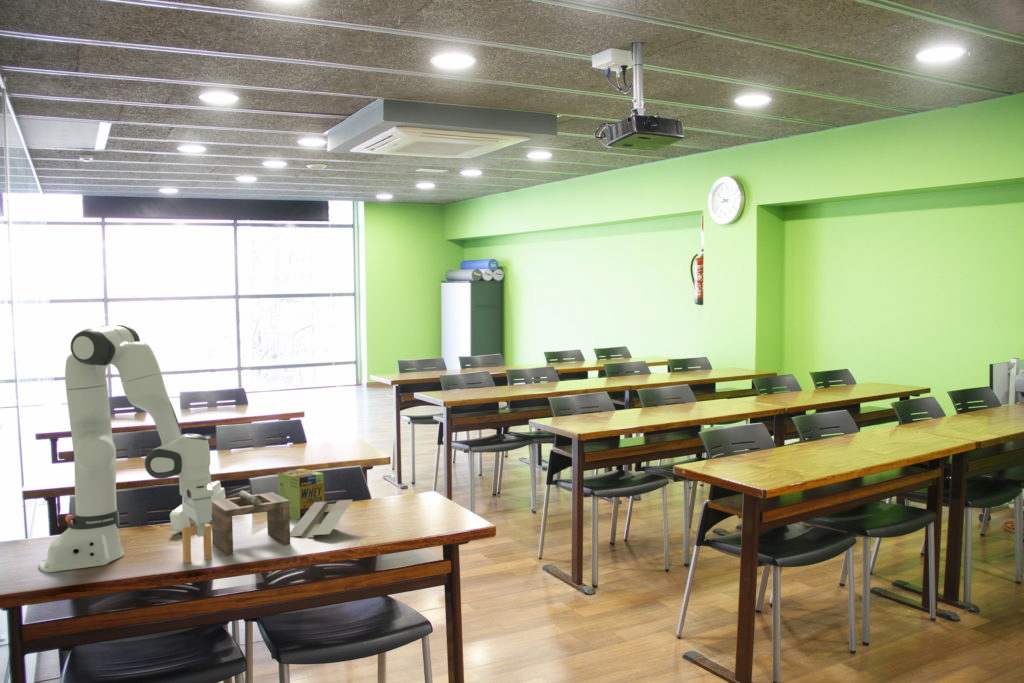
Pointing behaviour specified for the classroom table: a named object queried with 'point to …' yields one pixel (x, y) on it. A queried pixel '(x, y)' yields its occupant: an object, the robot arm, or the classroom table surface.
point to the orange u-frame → (186, 536)
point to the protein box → (301, 490)
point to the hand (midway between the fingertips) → (196, 532)
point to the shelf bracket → (181, 519)
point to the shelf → (229, 507)
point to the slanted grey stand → (320, 519)
